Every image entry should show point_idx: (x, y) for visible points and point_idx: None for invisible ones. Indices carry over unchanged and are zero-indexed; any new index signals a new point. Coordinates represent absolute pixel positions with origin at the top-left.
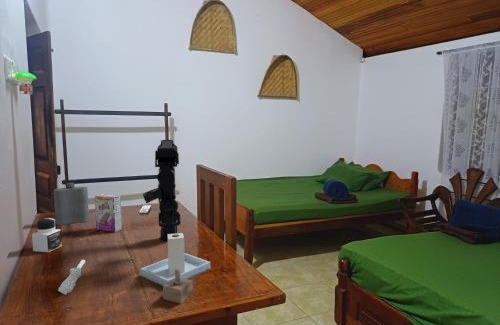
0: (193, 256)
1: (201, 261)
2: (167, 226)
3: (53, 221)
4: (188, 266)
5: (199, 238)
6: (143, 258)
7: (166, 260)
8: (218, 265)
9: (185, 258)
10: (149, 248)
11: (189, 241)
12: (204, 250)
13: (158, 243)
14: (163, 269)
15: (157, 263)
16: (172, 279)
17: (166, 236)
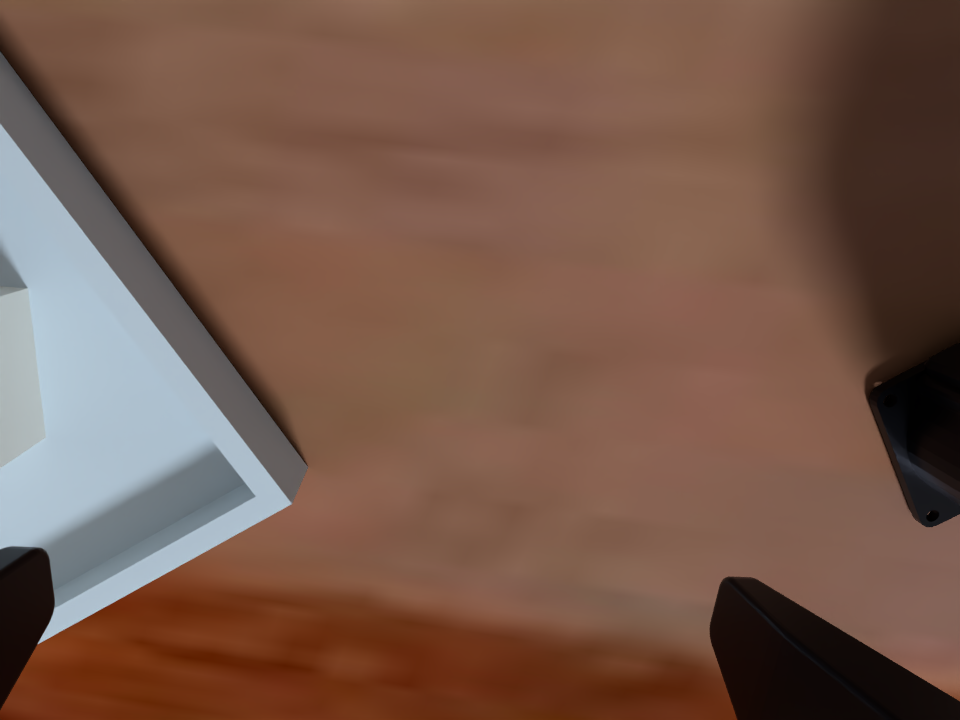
0: (135, 580)
1: None
2: (12, 553)
3: None
4: (41, 484)
5: None
6: (475, 47)
7: (100, 293)
8: (66, 709)
9: (237, 491)
10: (775, 158)
11: None
12: (461, 670)
13: (885, 282)
14: (11, 234)
15: (3, 172)
16: None
17: (949, 398)
